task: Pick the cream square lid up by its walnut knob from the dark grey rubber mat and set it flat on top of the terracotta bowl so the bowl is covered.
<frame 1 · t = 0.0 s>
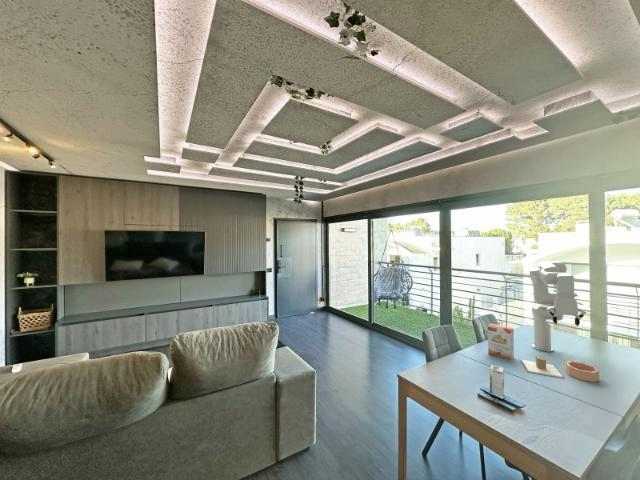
hand: (565, 324, 153), 31 cm above the table, fingers open, 9 cm apart
cracker box: (500, 356, 182), on the table
lid: (540, 363, 162), on the mat
bowl: (581, 376, 153), on the table
syrup box: (497, 396, 135), on the table
mat: (541, 369, 162), on the table
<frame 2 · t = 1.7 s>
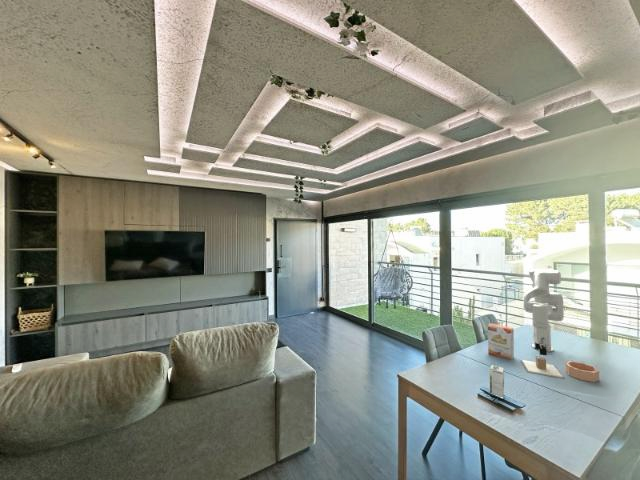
hand: (540, 352, 161), 11 cm above the table, fingers open, 9 cm apart
nothing on the table moved.
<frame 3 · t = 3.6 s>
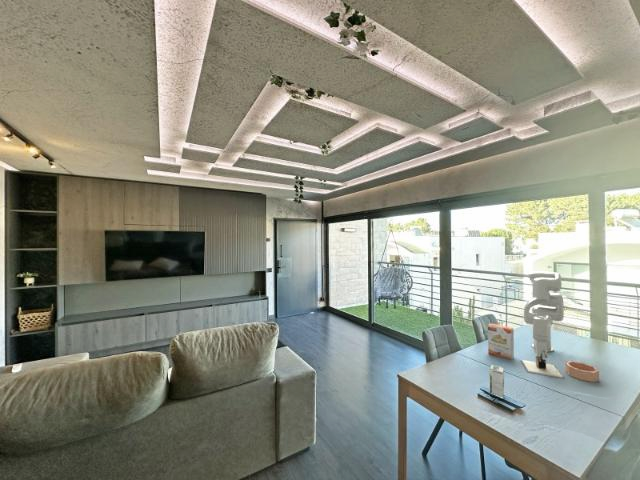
hand: (541, 366, 162), 2 cm above the table, fingers closed on lid, 4 cm apart
lid: (540, 363, 162), on the mat, touching gripper
everything else where it was.
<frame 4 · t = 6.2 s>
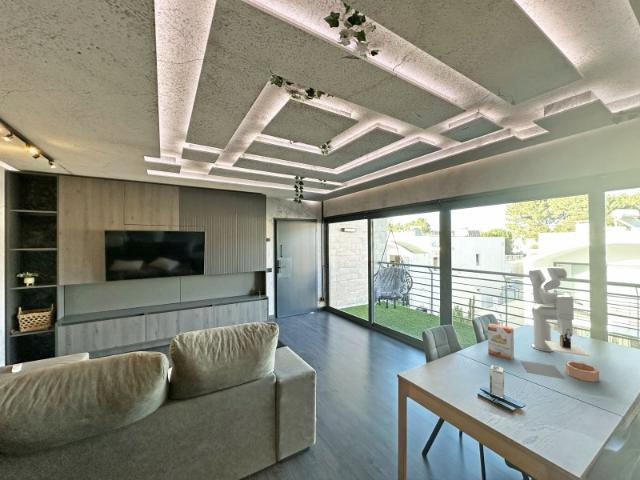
hand: (565, 345, 157), 17 cm above the table, fingers closed on lid, 4 cm apart
lid: (565, 342, 157), point 19 cm above the table, touching gripper
everything else where it was.
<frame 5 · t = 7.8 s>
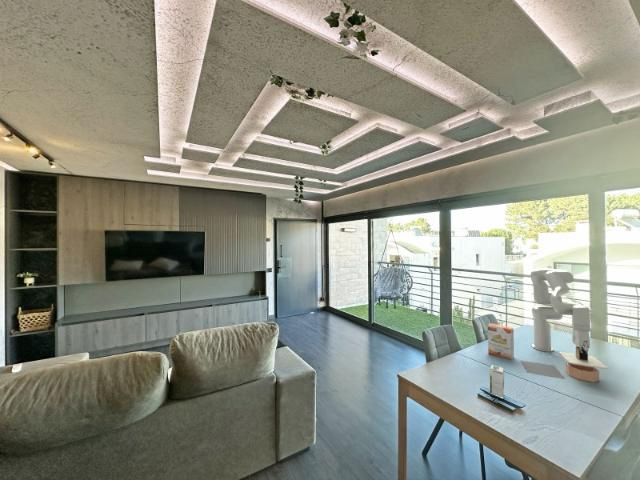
hand: (581, 357, 153), 11 cm above the table, fingers closed on lid, 4 cm apart
lid: (581, 354, 153), point 13 cm above the table, touching gripper
everything else where it was.
when the fingers open (9 cm above the table, at t = 8.9 s): lid drops 1 cm, resting on bowl.
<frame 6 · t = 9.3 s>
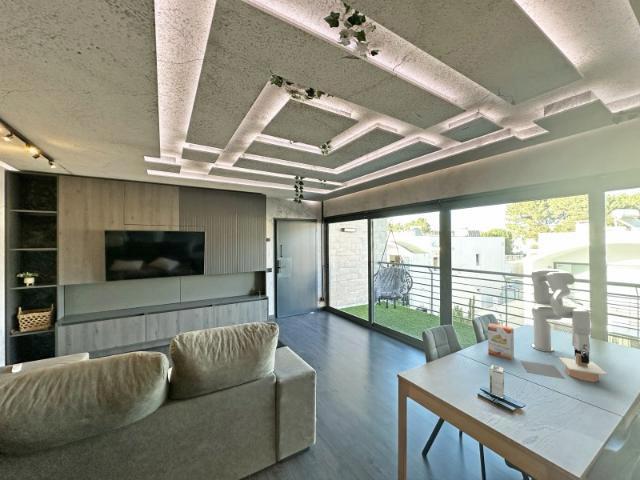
hand: (581, 359, 153), 10 cm above the table, fingers open, 8 cm apart
lid: (581, 360, 153), on the bowl, point 9 cm above the table
everything else where it was.
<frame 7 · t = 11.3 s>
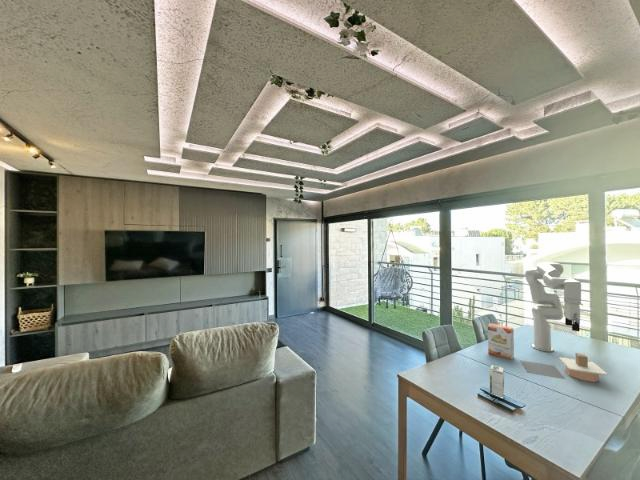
hand: (572, 328, 159), 27 cm above the table, fingers open, 9 cm apart
nothing on the table moved.
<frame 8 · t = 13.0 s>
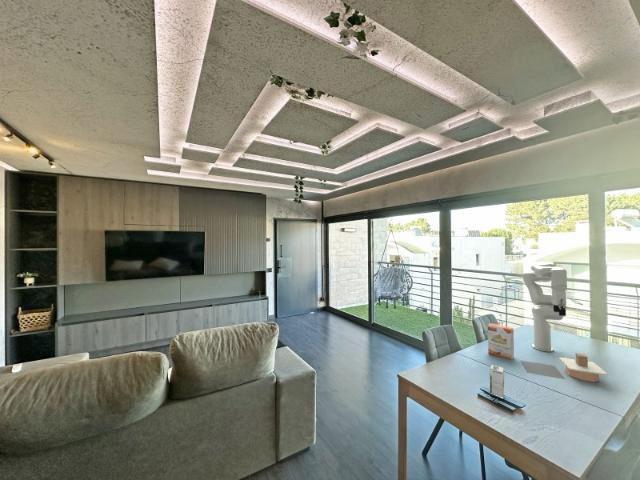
hand: (559, 313, 168), 33 cm above the table, fingers open, 9 cm apart
nothing on the table moved.
at the end: lid 0.1 cm off-centre on the bowl, point 9.4 cm above the bowl's base; lid tilted 0°; the gripper is holding nothing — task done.
